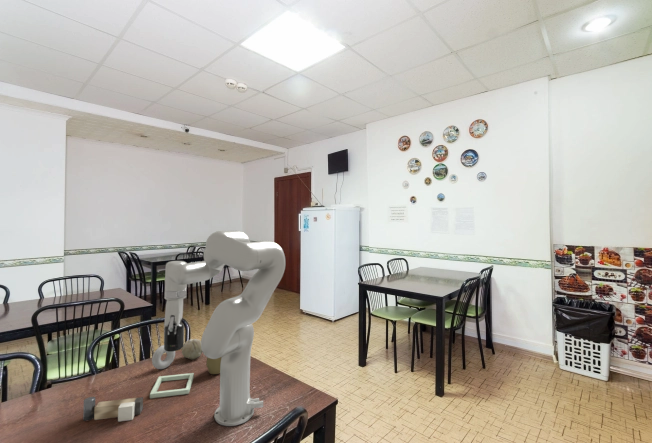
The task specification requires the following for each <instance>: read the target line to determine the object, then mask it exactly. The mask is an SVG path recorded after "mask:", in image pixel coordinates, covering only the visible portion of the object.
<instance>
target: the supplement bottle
mask: <svg viewBox="0 0 652 443" xmlns="http://www.w3.org/2000/svg"><path fill="white" fill-rule="evenodd" d="M182 321H183V320H181V321H180V324H179V325H178V326H177V332H176V333H177V344H175V345H167V335H168V327H169V324H168V326H167V327H165V326H164V328H163V345H164V350H165V351H169V352H173V351H175V352H177V351H181V350H182V348H183V346H184V343H185V325H184V323H183V322H182ZM173 325H176V324H173ZM173 328H174V329H175V327H173Z"/></svg>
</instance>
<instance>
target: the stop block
mask: <svg viewBox="0 0 652 443" xmlns="http://www.w3.org/2000/svg"><path fill="white" fill-rule="evenodd" d="M134 417H135V402H129V403H121V404H120V406H119V408H118V417H117V422H125V421H133V419H134Z"/></svg>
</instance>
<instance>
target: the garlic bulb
mask: <svg viewBox="0 0 652 443" xmlns="http://www.w3.org/2000/svg"><path fill="white" fill-rule="evenodd" d="M202 354H203V352H202V349H201V339H199V338H198V339H197V338H194V339H193V338H190V339H189V340H186V341H184V346H183V348H182V349H181V355H182V356H183V358H184V359H189V360H191V361H192V360H193V361H194V360H196V359H198V358H199V357H201V355H202Z"/></svg>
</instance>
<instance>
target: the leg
mask: <svg viewBox="0 0 652 443" xmlns="http://www.w3.org/2000/svg"><path fill="white" fill-rule="evenodd" d="M129 402H135V415H136V416H137V415H138V416H139V415H141V413H142V412H143V409H144V396H141V397H132V398H124V399H123V398H122V399H115V400H107V401H104V400H103V401H98V403H97V404H95V409H94V418H93V420H94V421H97V420H103V419H105V420H106V419H113V418H118V408H119V406H120V404H121V403H129Z"/></svg>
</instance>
